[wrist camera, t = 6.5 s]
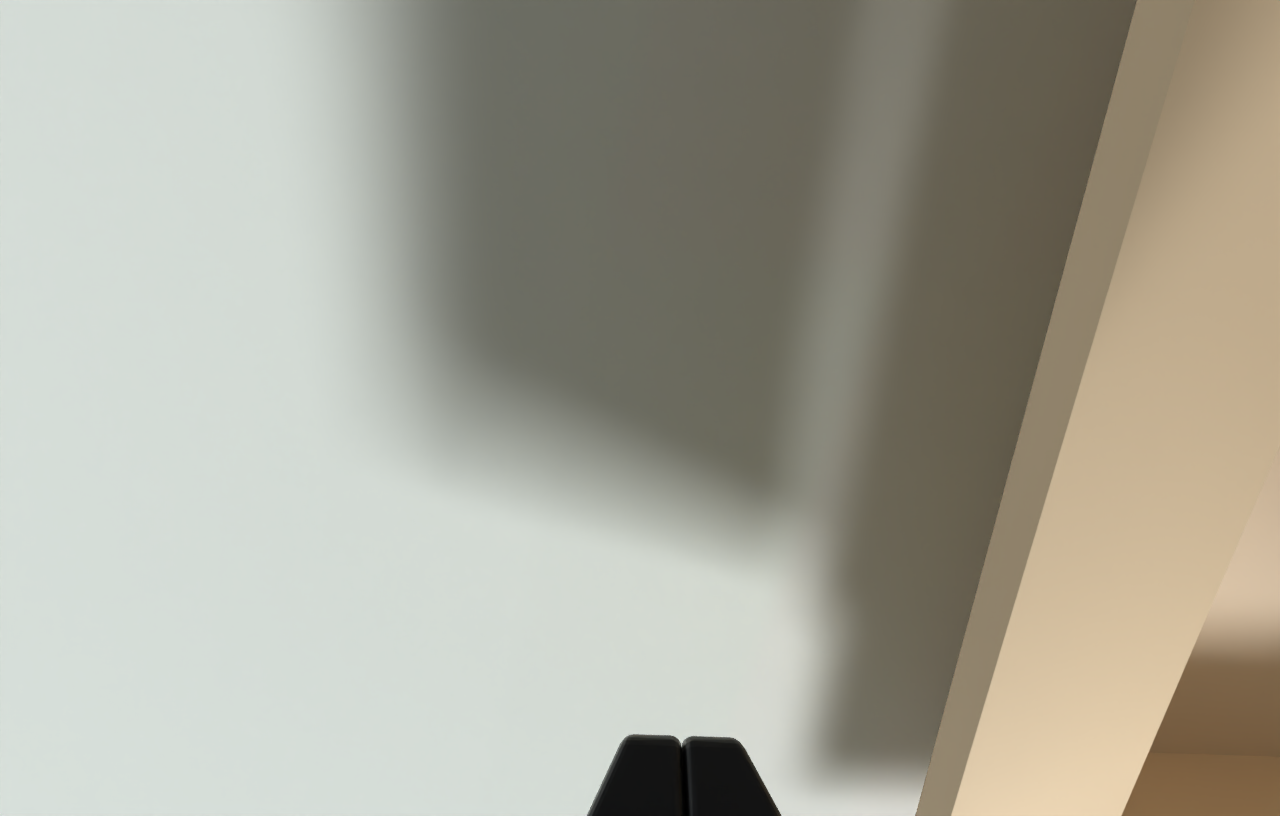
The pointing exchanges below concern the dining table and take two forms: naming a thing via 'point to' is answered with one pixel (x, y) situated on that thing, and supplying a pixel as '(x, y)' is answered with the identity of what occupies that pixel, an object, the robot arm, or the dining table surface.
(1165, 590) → the flap
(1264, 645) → the carton
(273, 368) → the dining table surface
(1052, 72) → the dining table surface
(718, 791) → the robot arm
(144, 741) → the dining table surface
